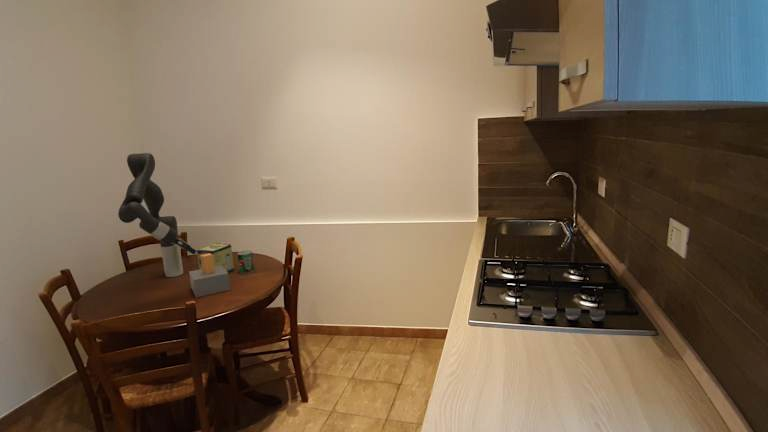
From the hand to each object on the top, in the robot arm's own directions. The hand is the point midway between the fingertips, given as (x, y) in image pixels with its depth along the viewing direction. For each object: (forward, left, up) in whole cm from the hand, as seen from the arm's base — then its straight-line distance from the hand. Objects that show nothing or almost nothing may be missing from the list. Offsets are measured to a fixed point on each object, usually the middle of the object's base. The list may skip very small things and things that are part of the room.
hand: (191, 251), depth 212 cm
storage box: (0, +6, -21) cm, 22 cm away
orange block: (0, +7, -12) cm, 14 cm away
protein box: (-21, +18, -21) cm, 35 cm away
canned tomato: (-12, +31, -21) cm, 40 cm away
